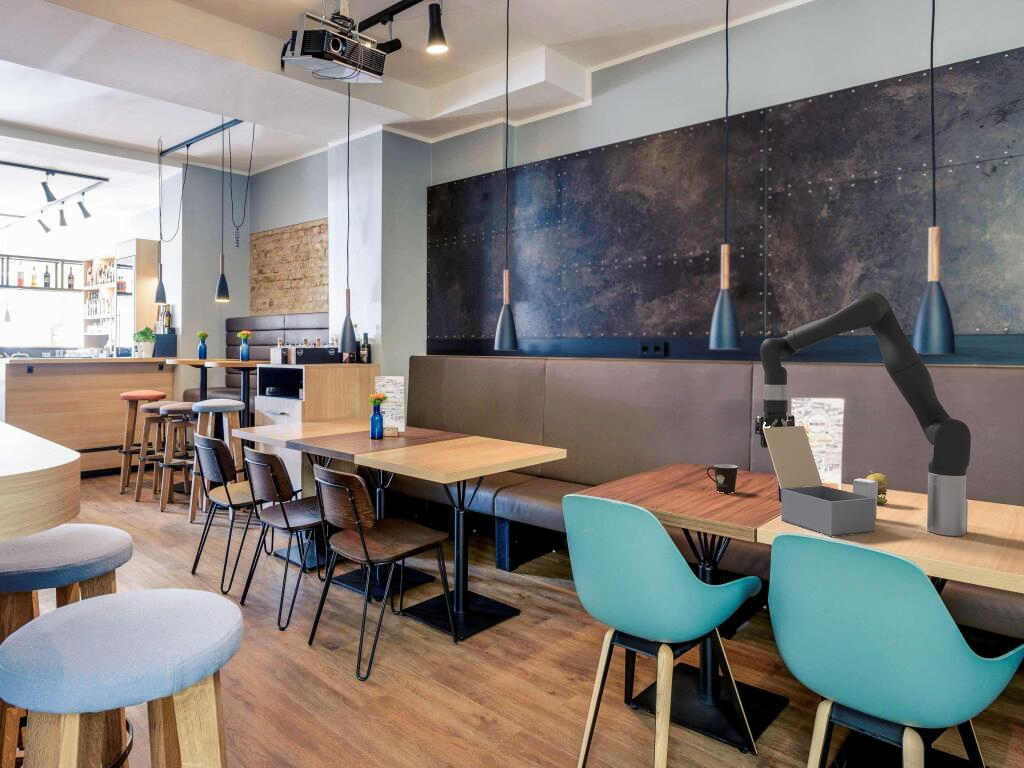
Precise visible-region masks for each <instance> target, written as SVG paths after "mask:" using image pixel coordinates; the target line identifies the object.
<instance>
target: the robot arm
mask: <svg viewBox="0 0 1024 768" xmlns="http://www.w3.org/2000/svg"><path fill="white" fill-rule="evenodd" d="M868 327H869V328H870V330H871V331H872V333H873V335H875V336H874V337H875V338H876V339H877V340H876V341H877V342H878V345H879V350H880V354H881V358H882V361H883V365H884V367H885V370H886V372H887V374H888V375H889V376H890V378H891V380H892V382H893V383H894V384H895V386H896V388H897V389H898V390H899V392H900V394H901V395H902V397H903V398H904V400H905V401H906V402H907V404H908V405H909V407H910V408H911V410H912V411H913V413H914V415H915V418H916V419H917V421H918V424H919V426H920V428H921V430H922V431H923V435H924V436H925V438H926V440H927V441H928V443H930V445H932V446H933V453H932V454H933V455H932V459H931V461H929V462H928V464H927V465H928V467H927V509H926V510H927V512H926V513H927V516H926V517H927V518H926V519H927V520H926V521H927V522H926V531H928V532H930V533H932V534H937V535H940V536H941V535H942V536H948V537H961V536H964V535H966V534H967V533H968V515H969V513H968V511H969V502H968V499H967V469H968V467H969V466H970V465H969V464H970V461H971V460H970V459H971V449H972V447H971V446H972V443H971V442H972V436H971V435H972V434H971V431H970V428H969V427H968V425H967V424H966V423H965V422H964V421H962V420H959V419H956V418H952V417H951V415H949V414H948V412H947V411H946V410H945V408H944V407H943V405H942V404H941V402H940V401H939V399H938V396H937V394H936V391H935V386H934V382H933V378H932V376H931V373H930V372H929V369H928V368H927V366H926V364H925V363H924V361H923V359H922V358H921V357H920V355H919V354H918V352H917V350H916V349H915V348H914V346H913V344H912V343H911V341H910V339H909V338H908V337H907V335H906V334H905V332H904V330H903V329H902V327H901V326H900V323H899V321H898V319H897V317H896V315H895V313H894V311H893V308H892V306H891V304H890V302H889V300H888V298H886V297H885V296H884V295H883V294H882V293H880V292H878V291H874V290H871V291H869V290H868V291H866V292H864V293H862V294H860V295H859V296H857V297H856V298H855V299H854V300H853V301H852V302H851V303H849V304H848V305H846V306H845V307H844V308H842V309H840V310H839V311H836V312H835V313H833V314H830V315H828V316H827V317H826V316H825V317H823V318H819V319H816V320H813V321H810V322H807V323H804V324H803V325H801V326H797V327H795V328H793V329H792V330H790V331H789V332H788V333H787V335H785V336H782V337H769V338H765V340H763V341H762V343H761V345H760V350H759V353H760V359H761V364H762V368H763V371H764V374H763V375H764V377H763V378H764V379H763V380H764V384H763V399H762V400H763V401H762V402H763V404H762V405H763V408H762V412H763V413H764V415H763V416H761V415H760V416H759V415H757V416H756V417H755V424H754V425H755V427H754V434H755V435H759V436H760V438H759V439H760V441H759V443H760V444H759V445H760V446H761V448H763V449H767V448H768V445H767V442H766V438H765V435H764V431H763V428H770V427H791V426H796V421H795V419H796V417H795V415H792V414H787V413H788V409H789V408H788V403H789V401H788V396H789V394H788V393H789V392H788V370H787V368H785V367H783V366H782V362H781V361H782V360H783V359H787V358H789V357H792V356H793V355H795V354H797V353H798V352H799V351H801V350H804V349H807V348H809V347H812V346H814V345H816V344H819V343H822V342H823V341H826V340H828V339H830V338H832V337H834V336H838V335H840V334H845V333H847V332H851V331H855V330H859V329H864V328H868Z"/></svg>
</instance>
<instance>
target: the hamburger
mask: <svg viewBox="0 0 1024 768" xmlns="http://www.w3.org/2000/svg"><path fill="white" fill-rule="evenodd" d="M868 471H869V472H870V473H871V474H869V475H867V476H866V477H865V478H864V479H867V480H873V481H878V493H877V503H878V504H877V505H886V504H887V503H888V499H886V496H887V492H888V489H887V488H886V487H887V486H888V485H889V483H890V480H889V478H888V477H887V475H885V474H883V473H879V472H878V473H874V472H873V470H868ZM869 472H868V473H869Z"/></svg>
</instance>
